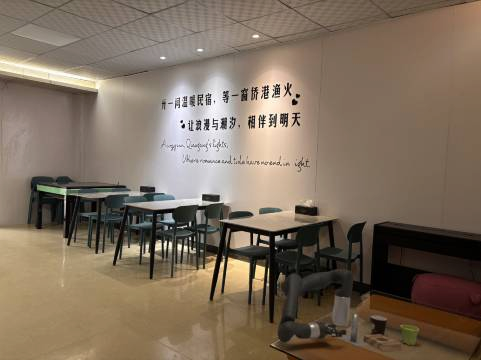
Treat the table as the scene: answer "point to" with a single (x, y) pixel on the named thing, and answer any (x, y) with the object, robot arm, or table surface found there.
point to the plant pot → (409, 334)
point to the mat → (358, 343)
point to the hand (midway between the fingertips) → (340, 329)
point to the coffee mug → (378, 324)
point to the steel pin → (354, 328)
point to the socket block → (382, 342)
